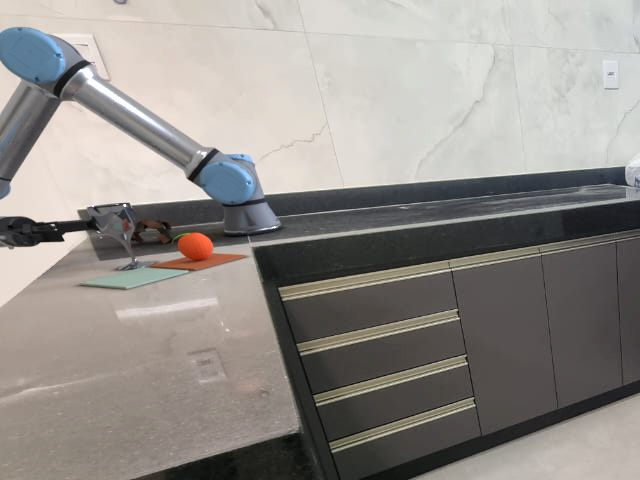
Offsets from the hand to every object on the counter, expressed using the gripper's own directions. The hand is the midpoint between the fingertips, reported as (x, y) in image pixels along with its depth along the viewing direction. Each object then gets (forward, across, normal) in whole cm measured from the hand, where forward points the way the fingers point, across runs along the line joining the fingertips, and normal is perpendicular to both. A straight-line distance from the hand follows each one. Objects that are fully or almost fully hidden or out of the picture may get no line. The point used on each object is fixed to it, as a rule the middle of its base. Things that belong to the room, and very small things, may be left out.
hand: (89, 229), depth 131 cm
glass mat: (+20, +12, -9) cm, 25 cm away
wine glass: (+8, 0, -10) cm, 12 cm away
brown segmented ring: (-14, -28, -10) cm, 33 cm away
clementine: (+23, -2, -9) cm, 25 cm away
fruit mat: (+23, -2, -9) cm, 25 cm away
